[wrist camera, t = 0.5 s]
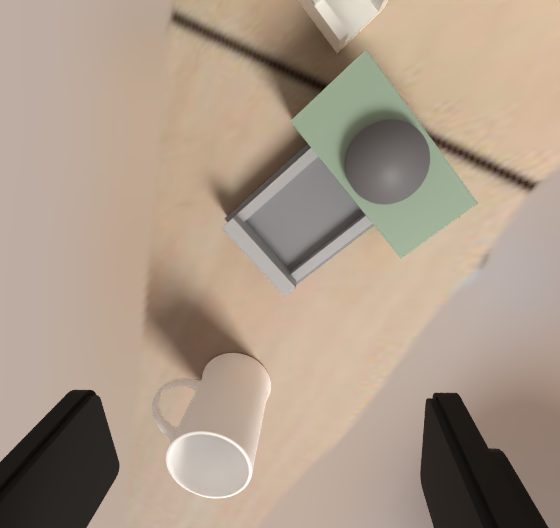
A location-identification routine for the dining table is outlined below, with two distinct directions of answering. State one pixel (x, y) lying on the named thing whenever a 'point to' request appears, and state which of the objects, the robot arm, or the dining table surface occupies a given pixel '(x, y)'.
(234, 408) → the mug
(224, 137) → the dining table surface
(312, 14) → the white box on legs
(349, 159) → the toy coffee machine
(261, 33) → the dining table surface
